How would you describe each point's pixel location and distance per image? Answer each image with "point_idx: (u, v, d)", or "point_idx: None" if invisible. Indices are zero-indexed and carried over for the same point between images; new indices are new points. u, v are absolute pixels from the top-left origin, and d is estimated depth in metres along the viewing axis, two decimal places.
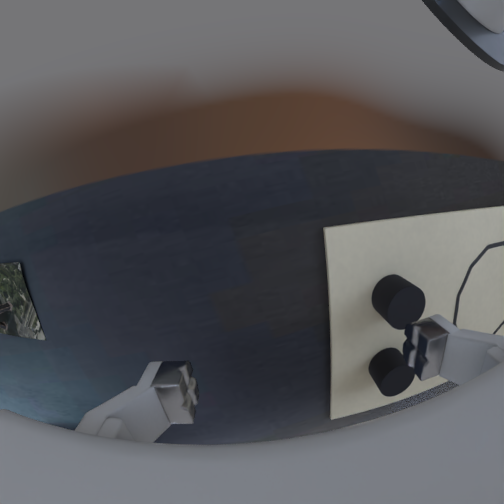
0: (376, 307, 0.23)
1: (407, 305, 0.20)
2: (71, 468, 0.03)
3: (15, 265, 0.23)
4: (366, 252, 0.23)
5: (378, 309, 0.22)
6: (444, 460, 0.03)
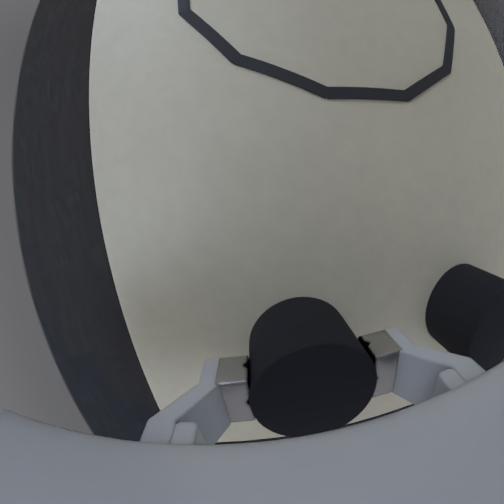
0: None
1: (306, 400, 0.07)
2: (71, 468, 0.03)
3: None
4: None
5: None
6: (444, 460, 0.03)
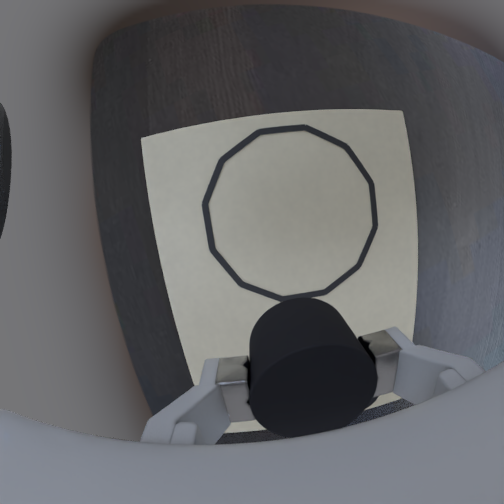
0: None
1: (306, 401, 0.07)
2: (71, 468, 0.03)
3: None
4: None
5: None
6: (444, 460, 0.03)
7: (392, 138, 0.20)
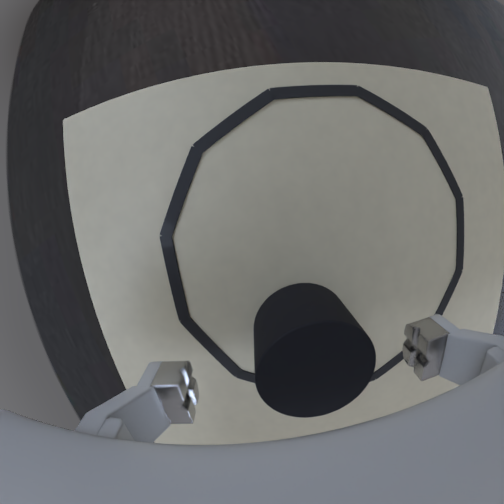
0: None
1: (308, 378, 0.08)
2: (71, 468, 0.03)
3: None
4: None
5: None
6: (444, 460, 0.03)
7: (481, 126, 0.09)
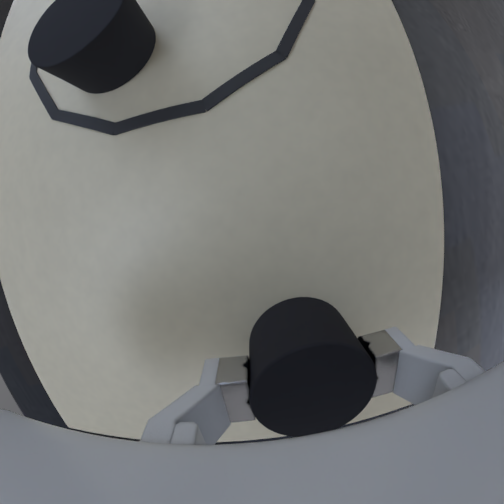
0: (109, 77, 0.07)
1: (63, 20, 0.05)
2: (71, 468, 0.03)
3: None
4: (70, 390, 0.12)
5: (104, 73, 0.07)
6: (443, 460, 0.03)
7: None
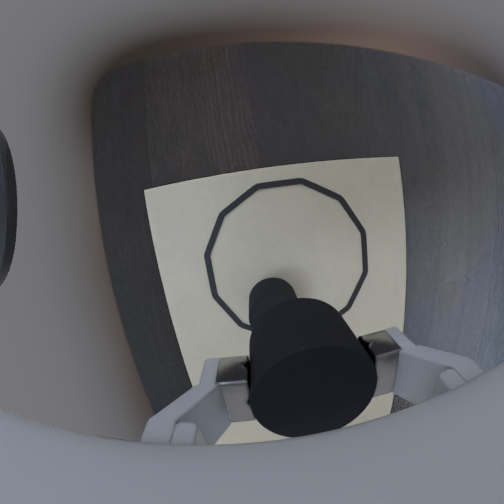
0: None
1: None
2: (71, 468, 0.03)
3: None
4: (230, 428, 0.27)
5: None
6: (444, 460, 0.03)
7: (386, 186, 0.22)
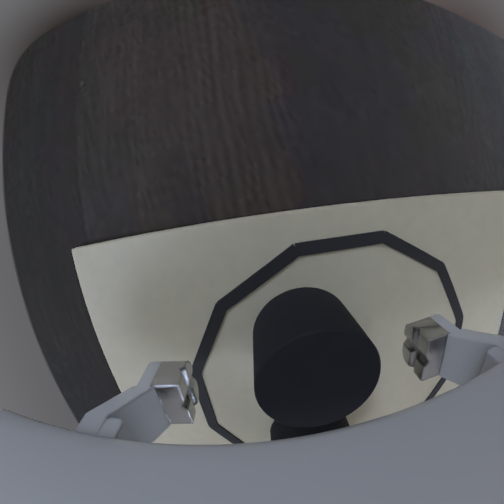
0: None
1: None
2: (71, 468, 0.03)
3: None
4: None
5: None
6: (444, 460, 0.03)
7: (496, 241, 0.10)
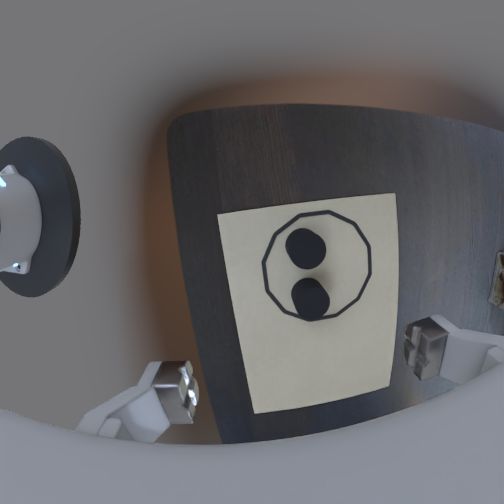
0: None
1: (310, 304, 0.30)
2: (71, 468, 0.03)
3: None
4: (268, 395, 0.37)
5: None
6: (444, 460, 0.03)
7: (385, 214, 0.32)
